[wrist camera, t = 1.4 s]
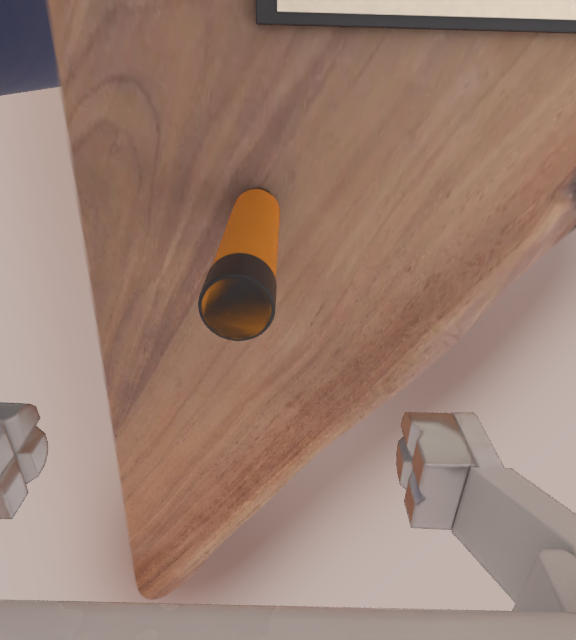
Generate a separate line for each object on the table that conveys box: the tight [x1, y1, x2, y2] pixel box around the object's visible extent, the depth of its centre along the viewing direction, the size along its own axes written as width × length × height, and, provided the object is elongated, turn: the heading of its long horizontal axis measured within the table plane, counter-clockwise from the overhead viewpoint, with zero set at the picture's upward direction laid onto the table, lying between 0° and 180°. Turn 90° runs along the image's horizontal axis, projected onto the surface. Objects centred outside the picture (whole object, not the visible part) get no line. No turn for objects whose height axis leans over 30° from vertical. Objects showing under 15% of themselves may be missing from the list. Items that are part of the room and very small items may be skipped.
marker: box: [198, 188, 280, 341], centre depth 22 cm, size 3×3×13 cm
